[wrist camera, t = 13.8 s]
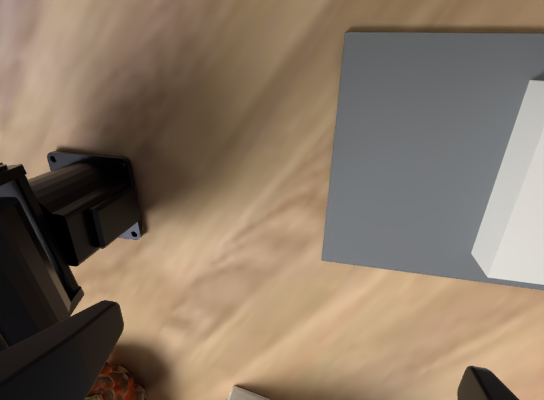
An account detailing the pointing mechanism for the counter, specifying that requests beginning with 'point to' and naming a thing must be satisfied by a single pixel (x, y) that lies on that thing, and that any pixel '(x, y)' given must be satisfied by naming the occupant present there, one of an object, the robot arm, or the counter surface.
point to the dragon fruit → (115, 385)
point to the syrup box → (244, 395)
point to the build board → (440, 156)
